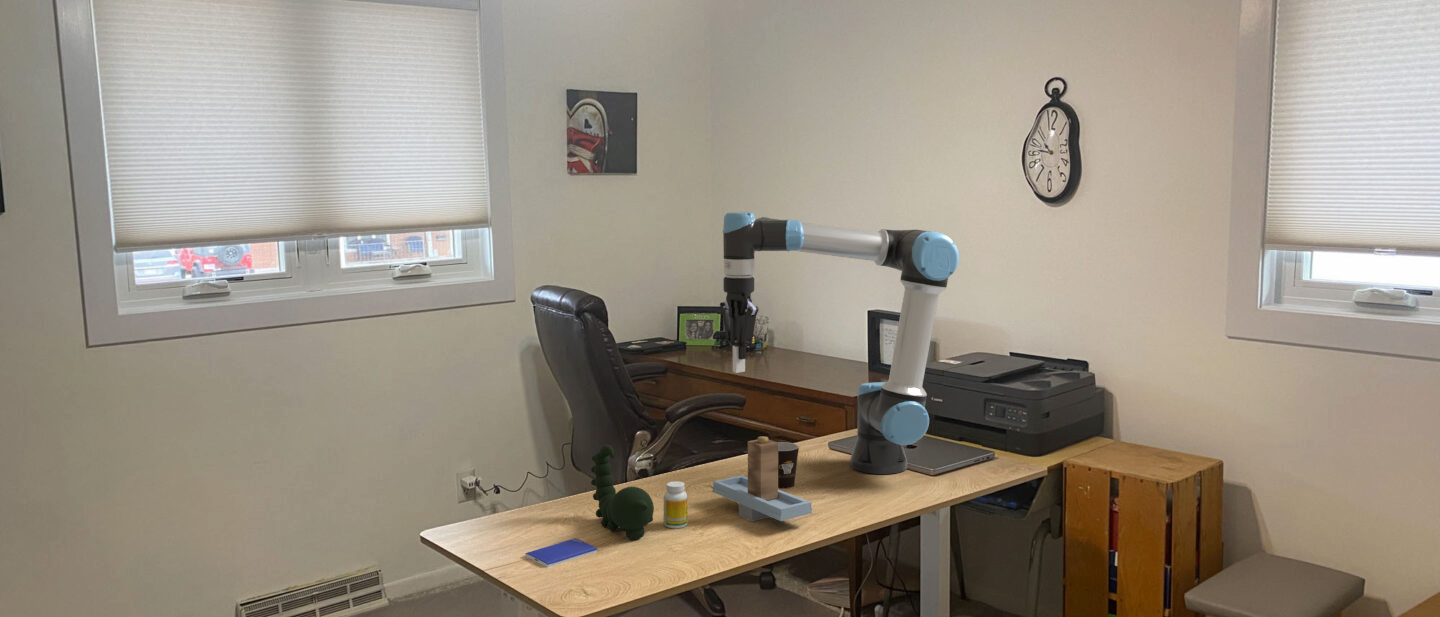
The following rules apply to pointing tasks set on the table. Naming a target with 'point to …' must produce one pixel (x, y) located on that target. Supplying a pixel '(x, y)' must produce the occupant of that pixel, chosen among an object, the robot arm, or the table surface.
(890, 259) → the robot arm
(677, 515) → the supplement bottle
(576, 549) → the hard drive
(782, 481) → the coffee mug
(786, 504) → the beam
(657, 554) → the table surface
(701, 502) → the table surface
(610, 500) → the toy figurine
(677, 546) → the table surface
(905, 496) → the table surface
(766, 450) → the brown block with knob
